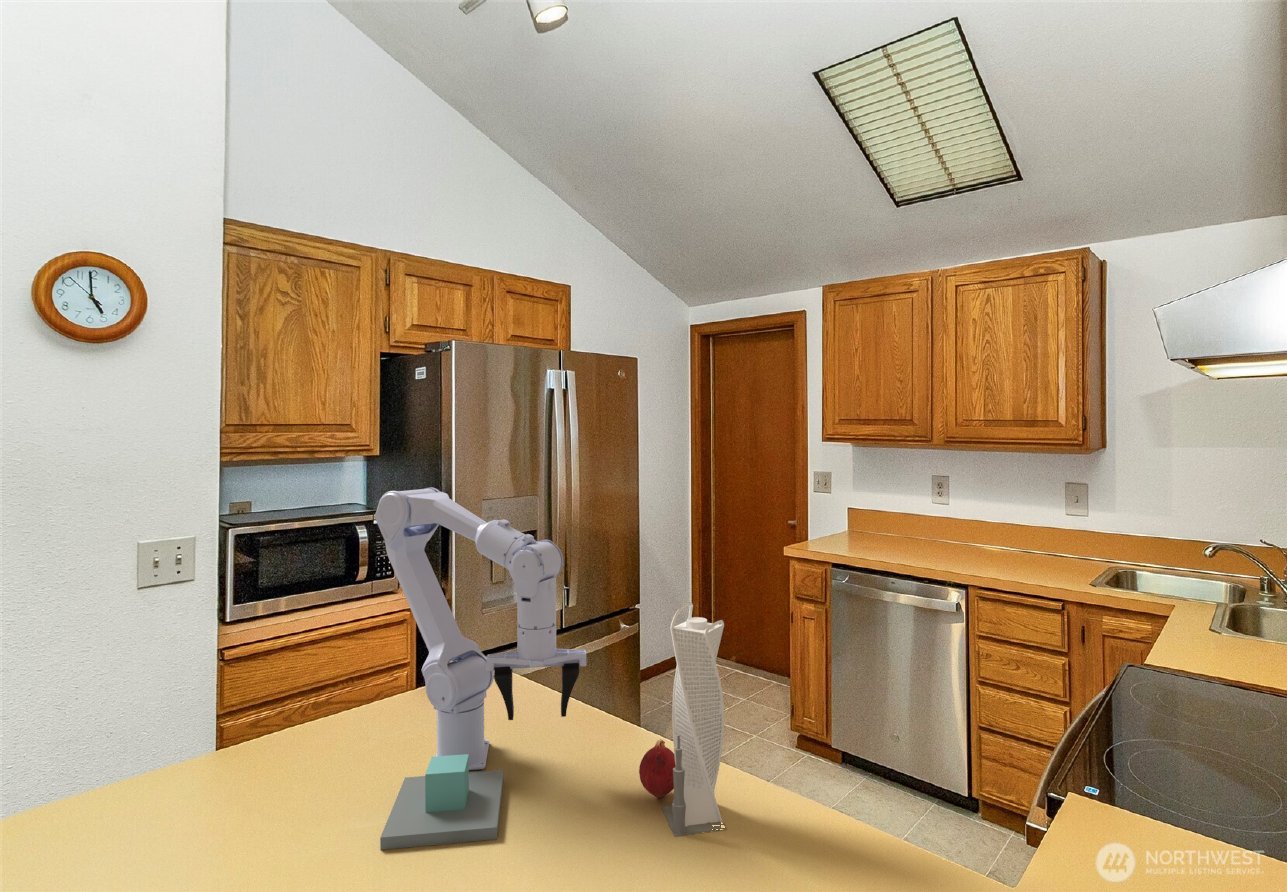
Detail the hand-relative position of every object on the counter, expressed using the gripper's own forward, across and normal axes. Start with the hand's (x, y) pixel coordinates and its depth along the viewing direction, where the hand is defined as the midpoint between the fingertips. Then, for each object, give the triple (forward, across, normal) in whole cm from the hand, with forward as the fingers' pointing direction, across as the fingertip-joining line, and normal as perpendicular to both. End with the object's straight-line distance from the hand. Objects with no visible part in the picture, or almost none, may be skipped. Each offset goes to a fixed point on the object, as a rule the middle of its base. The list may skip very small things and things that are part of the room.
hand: (537, 715), depth 99 cm
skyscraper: (+10, +21, -13) cm, 27 cm away
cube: (+8, -12, -7) cm, 16 cm away
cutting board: (+9, -12, -7) cm, 17 cm away
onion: (+10, +17, -8) cm, 21 cm away
